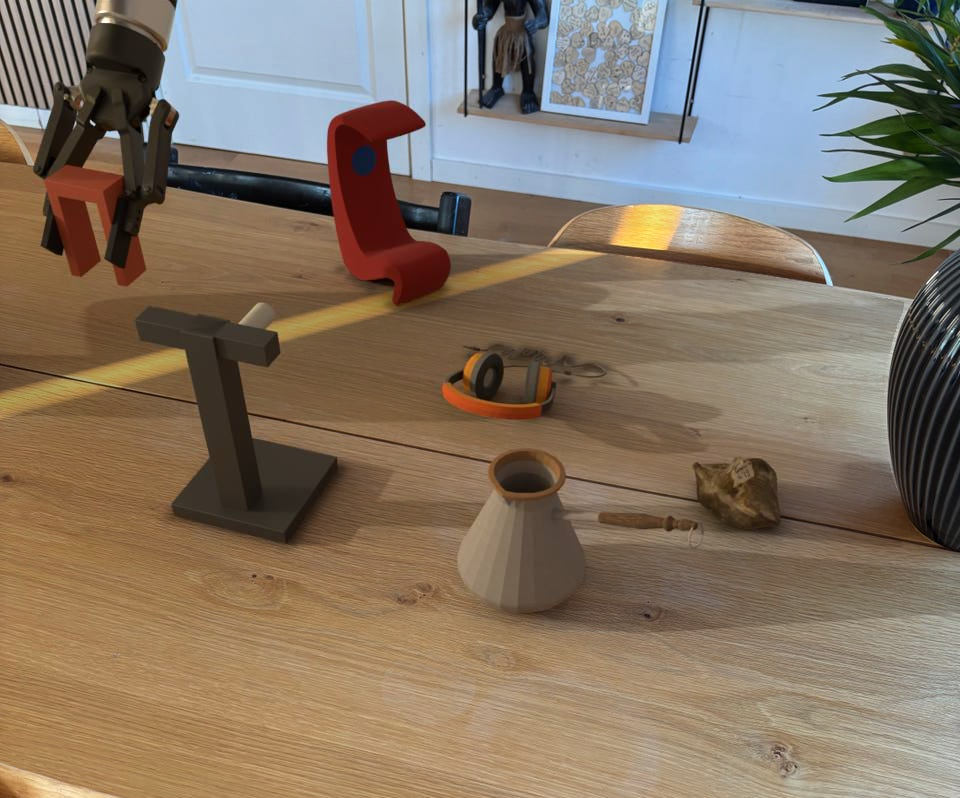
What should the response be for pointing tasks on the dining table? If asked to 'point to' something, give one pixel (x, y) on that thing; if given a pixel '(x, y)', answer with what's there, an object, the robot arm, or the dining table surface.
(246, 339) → the stand
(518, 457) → the coffee pot
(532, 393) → the headphones
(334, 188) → the chair
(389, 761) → the dining table surface
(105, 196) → the clip
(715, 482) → the fossilized seashell
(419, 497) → the dining table surface
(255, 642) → the dining table surface
